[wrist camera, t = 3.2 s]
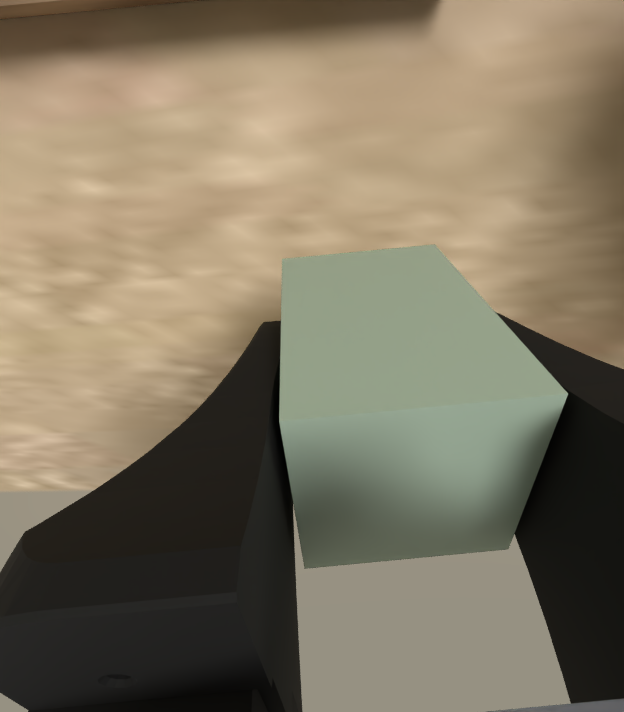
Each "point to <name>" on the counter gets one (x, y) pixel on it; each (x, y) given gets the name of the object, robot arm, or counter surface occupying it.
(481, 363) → the block
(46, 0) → the base board
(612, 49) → the counter surface
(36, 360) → the counter surface
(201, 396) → the counter surface
